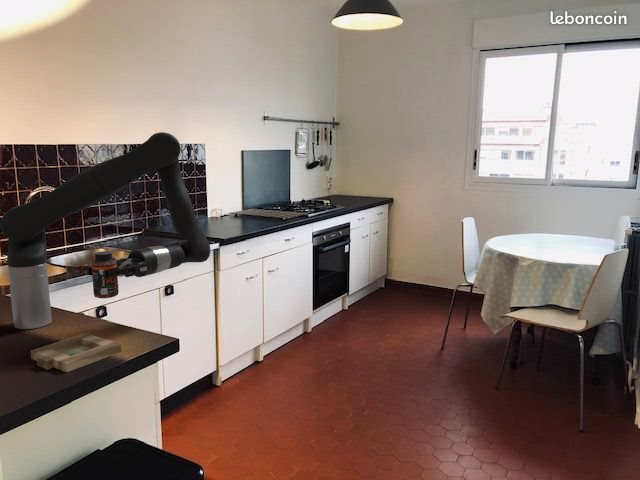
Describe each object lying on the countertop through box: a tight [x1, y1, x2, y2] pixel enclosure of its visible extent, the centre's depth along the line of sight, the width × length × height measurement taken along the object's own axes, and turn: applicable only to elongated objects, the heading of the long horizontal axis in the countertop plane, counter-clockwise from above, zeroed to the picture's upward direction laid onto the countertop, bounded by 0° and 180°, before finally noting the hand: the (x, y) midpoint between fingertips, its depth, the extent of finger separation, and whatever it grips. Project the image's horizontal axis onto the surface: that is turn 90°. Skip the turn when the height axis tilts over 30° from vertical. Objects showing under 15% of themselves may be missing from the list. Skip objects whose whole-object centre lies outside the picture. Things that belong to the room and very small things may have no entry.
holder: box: [30, 332, 122, 373], centre depth 123 cm, size 14×16×2 cm
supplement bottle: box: [91, 250, 120, 299], centre depth 133 cm, size 6×6×11 cm
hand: (96, 273), depth 130 cm, fingers closed on supplement bottle, 6 cm apart
